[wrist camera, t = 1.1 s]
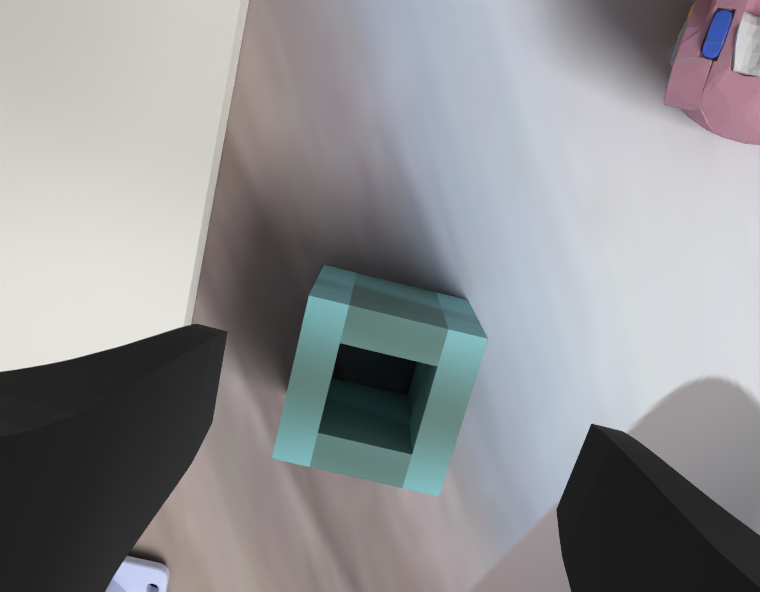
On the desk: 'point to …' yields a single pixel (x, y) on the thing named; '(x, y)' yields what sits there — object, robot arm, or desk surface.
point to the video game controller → (719, 68)
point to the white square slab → (107, 167)
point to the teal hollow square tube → (375, 406)
